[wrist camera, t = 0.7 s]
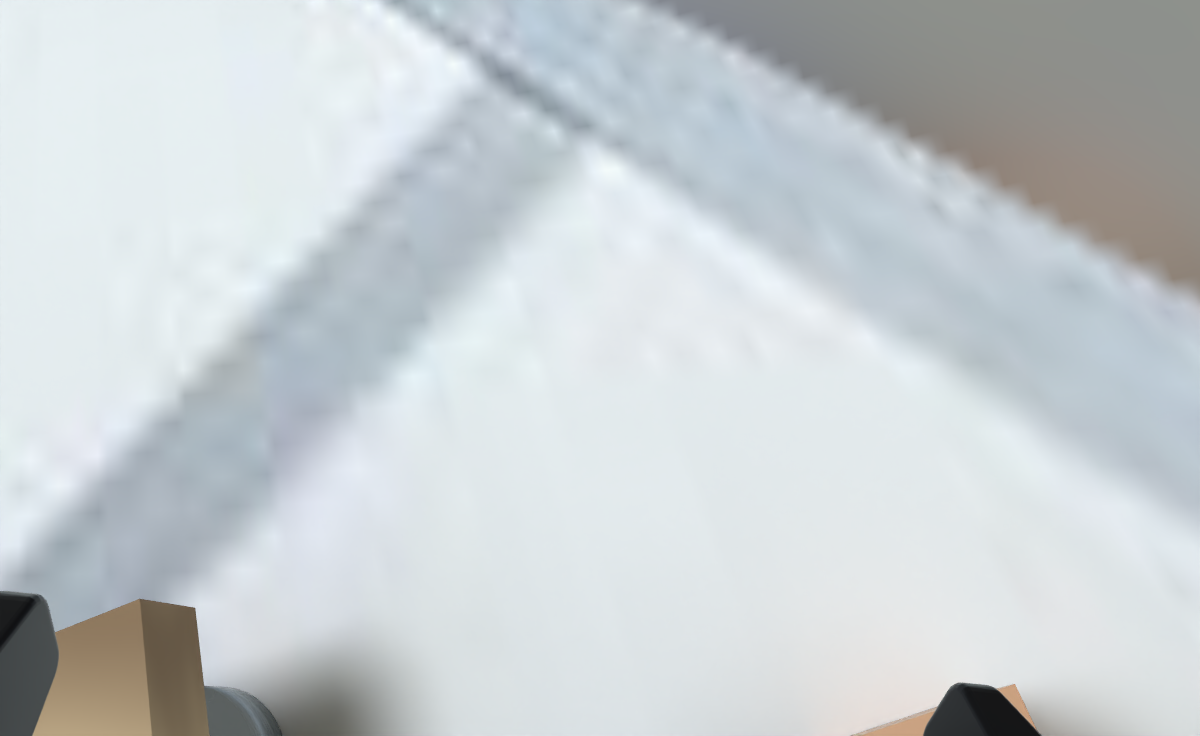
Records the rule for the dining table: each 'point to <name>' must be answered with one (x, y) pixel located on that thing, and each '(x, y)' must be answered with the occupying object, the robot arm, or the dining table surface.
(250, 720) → the disc
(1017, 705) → the toy hammer
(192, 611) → the shelf
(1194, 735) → the dining table surface
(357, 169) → the dining table surface
